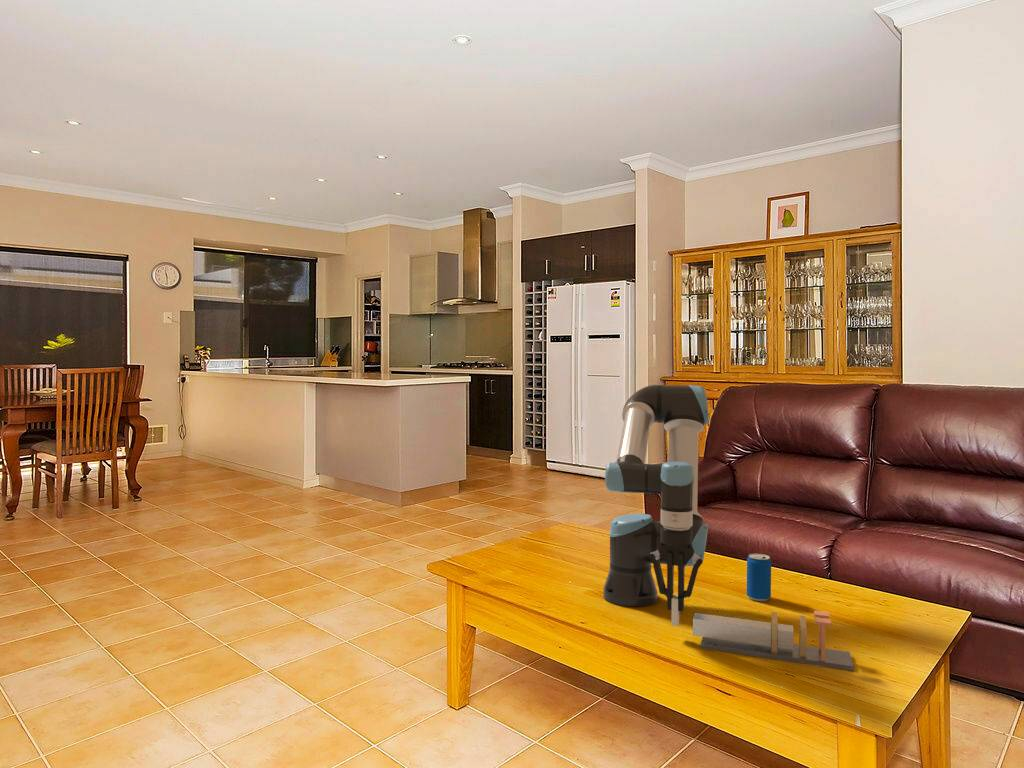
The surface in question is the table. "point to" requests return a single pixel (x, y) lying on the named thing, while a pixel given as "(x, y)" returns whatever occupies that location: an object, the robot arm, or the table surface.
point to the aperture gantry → (822, 629)
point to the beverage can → (759, 577)
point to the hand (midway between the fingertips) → (675, 623)
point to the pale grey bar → (741, 630)
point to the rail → (798, 653)
